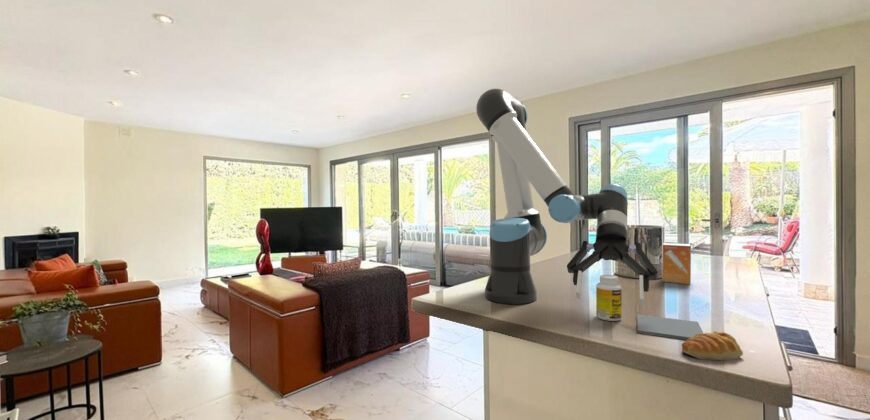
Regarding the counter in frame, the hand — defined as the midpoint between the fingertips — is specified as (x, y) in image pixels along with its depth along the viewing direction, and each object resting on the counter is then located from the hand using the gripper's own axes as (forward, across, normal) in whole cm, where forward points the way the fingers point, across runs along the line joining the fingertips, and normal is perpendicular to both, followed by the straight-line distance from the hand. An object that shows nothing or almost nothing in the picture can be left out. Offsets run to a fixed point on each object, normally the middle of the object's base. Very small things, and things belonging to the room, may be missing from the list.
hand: (608, 299), depth 85 cm
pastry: (+12, -18, +4) cm, 22 cm away
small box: (-35, -18, -43) cm, 58 cm away
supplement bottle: (+2, 0, -5) cm, 6 cm away
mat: (+4, -12, -4) cm, 13 cm away
